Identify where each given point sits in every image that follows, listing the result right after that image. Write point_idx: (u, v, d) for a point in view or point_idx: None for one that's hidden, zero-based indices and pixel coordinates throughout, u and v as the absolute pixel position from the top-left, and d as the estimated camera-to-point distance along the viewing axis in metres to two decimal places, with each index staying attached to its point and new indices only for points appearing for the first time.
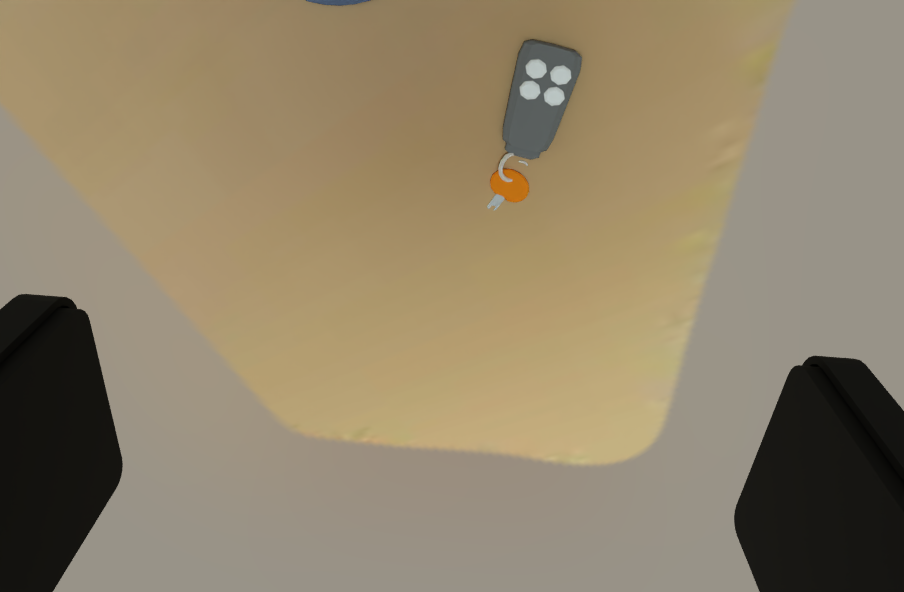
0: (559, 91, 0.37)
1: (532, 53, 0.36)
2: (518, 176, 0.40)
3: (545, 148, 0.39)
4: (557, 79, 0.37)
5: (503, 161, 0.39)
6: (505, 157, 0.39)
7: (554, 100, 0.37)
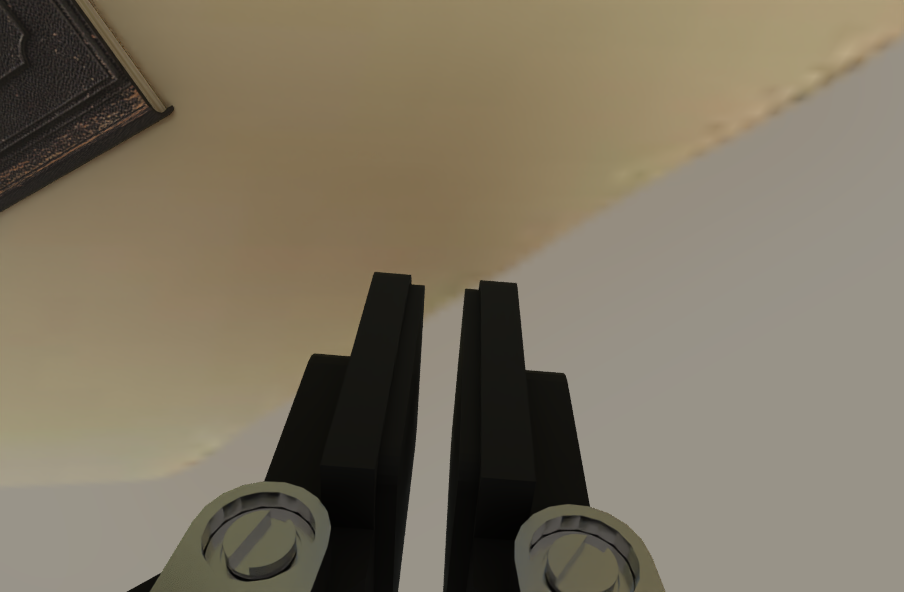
0: None
1: None
2: None
3: None
4: None
5: None
6: None
7: None
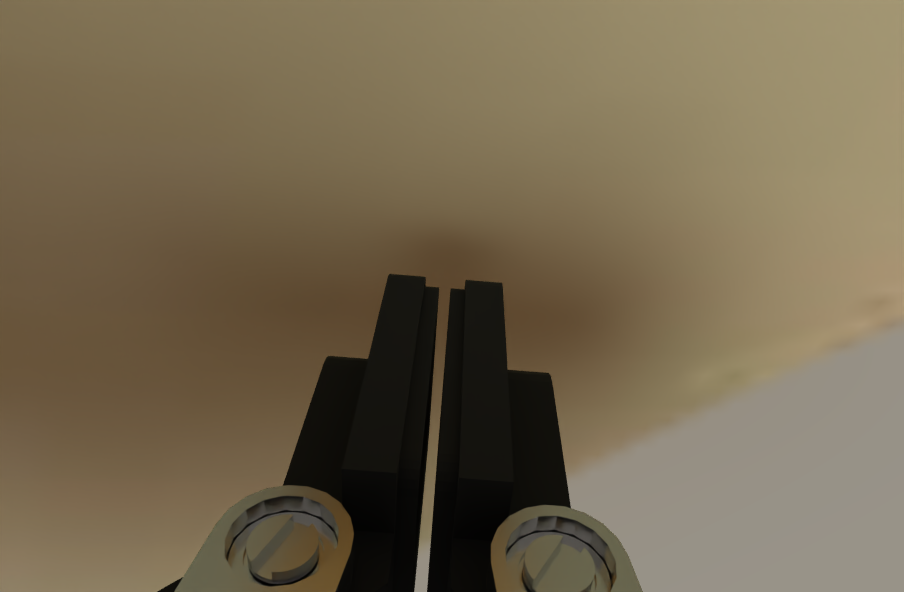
0: None
1: None
2: None
3: None
4: None
5: None
6: None
7: None
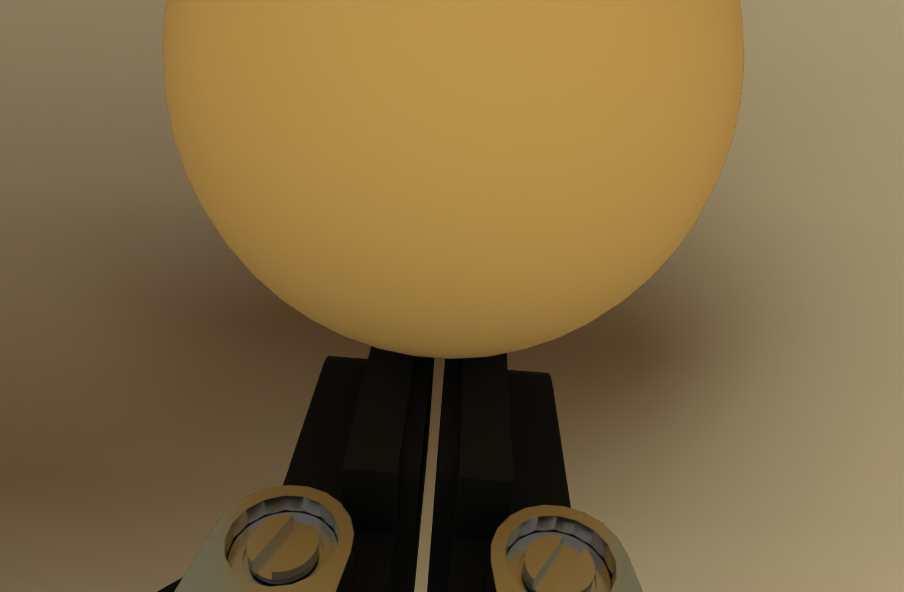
0: None
1: None
2: None
3: None
4: None
5: None
6: None
7: None
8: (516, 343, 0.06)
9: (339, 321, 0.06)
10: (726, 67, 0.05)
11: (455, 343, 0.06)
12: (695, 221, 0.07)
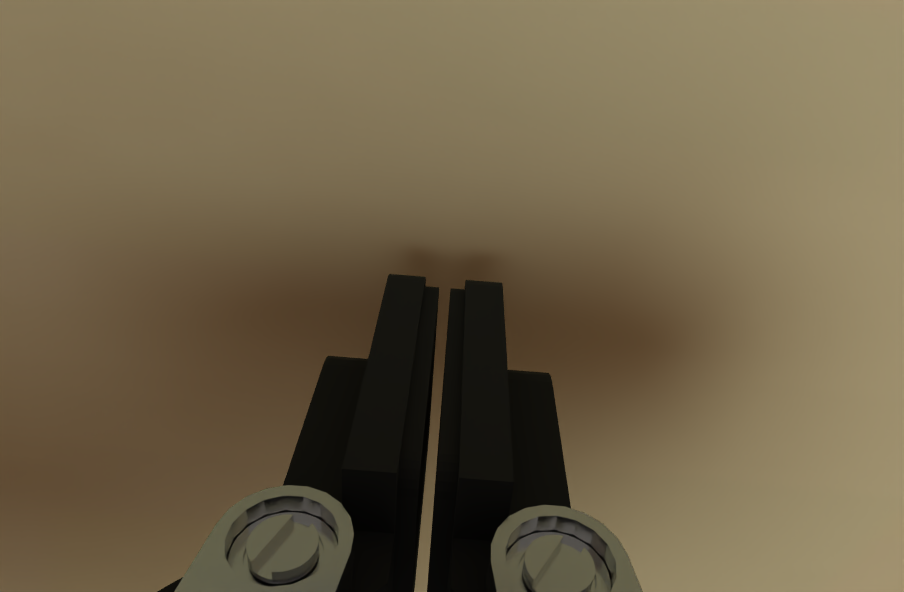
0: None
1: None
2: None
3: None
4: None
5: None
6: None
7: None
8: None
9: None
10: None
11: None
12: None
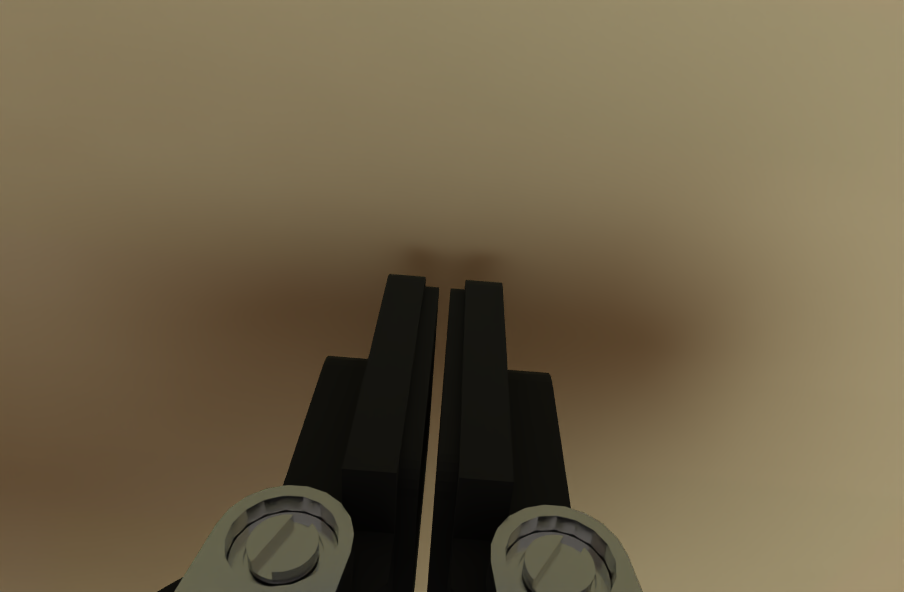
0: None
1: None
2: None
3: None
4: None
5: None
6: None
7: None
8: None
9: None
10: None
11: None
12: None
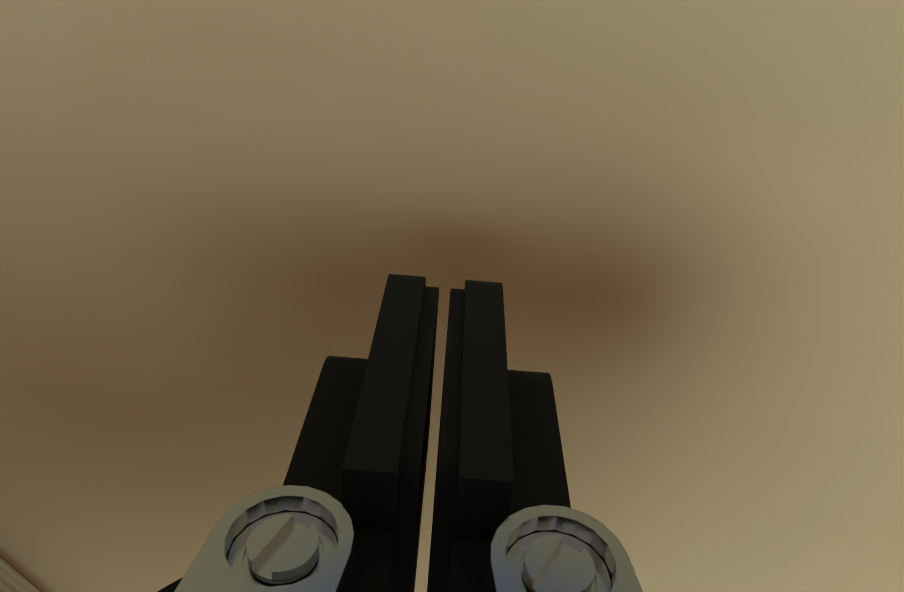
0: None
1: None
2: None
3: None
4: None
5: None
6: None
7: None
8: None
9: None
10: None
11: None
12: None
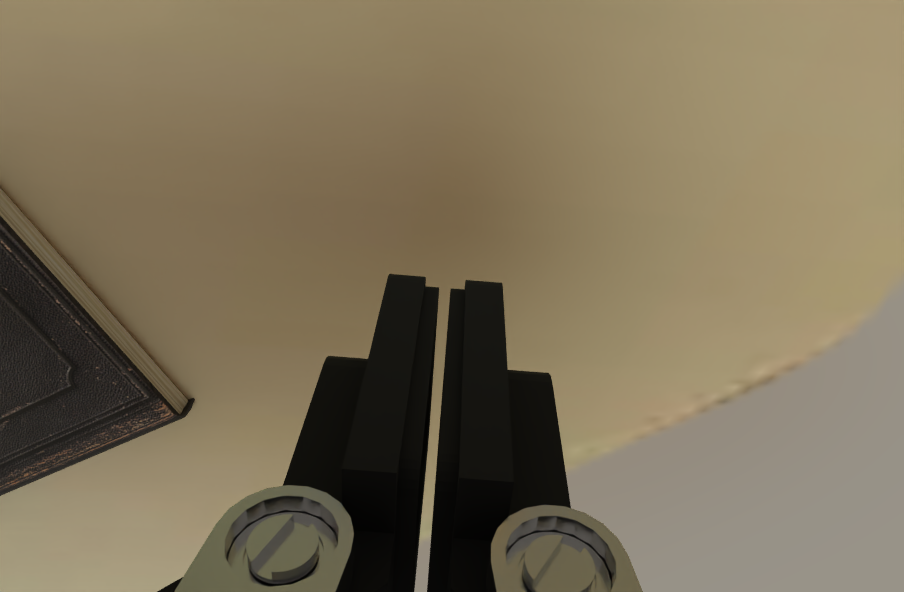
0: None
1: None
2: None
3: None
4: None
5: None
6: None
7: None
8: None
9: None
10: None
11: None
12: None
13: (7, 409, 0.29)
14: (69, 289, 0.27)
